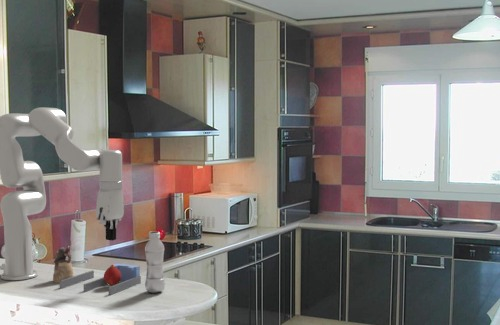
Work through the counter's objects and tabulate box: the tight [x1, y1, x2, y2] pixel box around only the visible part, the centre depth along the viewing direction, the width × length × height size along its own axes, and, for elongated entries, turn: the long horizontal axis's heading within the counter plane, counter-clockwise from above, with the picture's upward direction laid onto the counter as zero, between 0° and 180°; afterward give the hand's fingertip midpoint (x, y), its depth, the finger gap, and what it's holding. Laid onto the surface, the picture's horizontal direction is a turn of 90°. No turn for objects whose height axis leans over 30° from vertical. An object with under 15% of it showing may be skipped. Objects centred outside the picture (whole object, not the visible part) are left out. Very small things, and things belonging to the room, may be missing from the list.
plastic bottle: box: [144, 231, 166, 294], centre depth 201 cm, size 6×7×20 cm
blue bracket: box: [113, 263, 141, 283], centre depth 214 cm, size 10×4×6 cm, turn 65°
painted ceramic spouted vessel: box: [52, 246, 75, 284], centre depth 218 cm, size 7×7×12 cm
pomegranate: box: [103, 263, 121, 287], centre depth 208 cm, size 6×6×8 cm
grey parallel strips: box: [59, 270, 142, 296], centre depth 211 cm, size 21×17×2 cm
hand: (110, 239), depth 208 cm, fingers closed
